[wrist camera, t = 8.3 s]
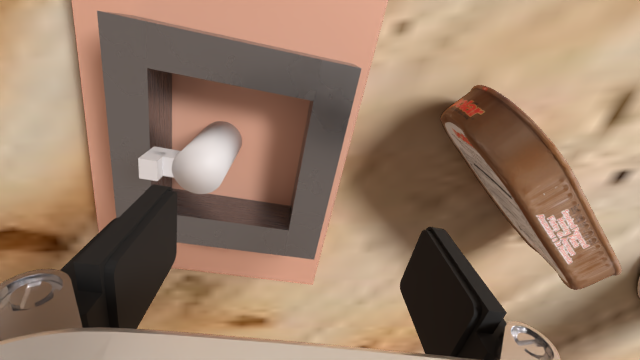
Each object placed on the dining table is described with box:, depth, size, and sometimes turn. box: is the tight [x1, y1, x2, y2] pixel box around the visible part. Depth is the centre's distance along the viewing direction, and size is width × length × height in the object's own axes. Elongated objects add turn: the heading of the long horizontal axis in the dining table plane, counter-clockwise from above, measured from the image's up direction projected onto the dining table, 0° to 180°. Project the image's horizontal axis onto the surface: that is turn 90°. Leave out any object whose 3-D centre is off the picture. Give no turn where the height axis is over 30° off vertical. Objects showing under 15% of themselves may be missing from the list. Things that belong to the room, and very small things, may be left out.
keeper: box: [72, 0, 388, 285], centre depth 17 cm, size 16×22×7 cm
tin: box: [441, 85, 622, 290], centre depth 19 cm, size 15×3×8 cm, turn 41°
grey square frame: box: [97, 11, 362, 260], centre depth 18 cm, size 12×12×3 cm
